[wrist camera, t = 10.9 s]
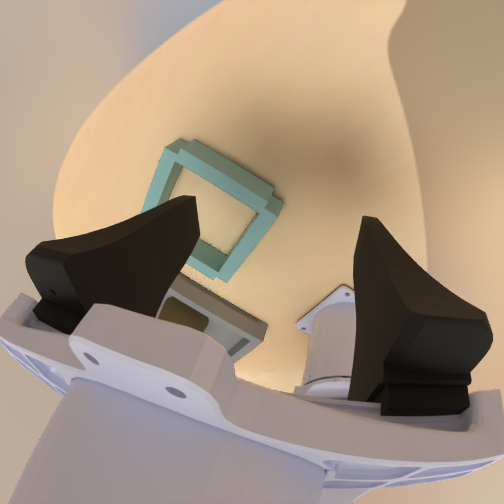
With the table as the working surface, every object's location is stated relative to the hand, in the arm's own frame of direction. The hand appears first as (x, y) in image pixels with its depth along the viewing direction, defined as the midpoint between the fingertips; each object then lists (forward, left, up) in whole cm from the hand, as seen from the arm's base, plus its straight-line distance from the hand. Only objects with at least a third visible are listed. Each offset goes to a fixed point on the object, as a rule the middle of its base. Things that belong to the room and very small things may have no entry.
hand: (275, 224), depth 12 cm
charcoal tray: (0, +25, -10) cm, 27 cm away
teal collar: (+4, +9, -10) cm, 14 cm away
